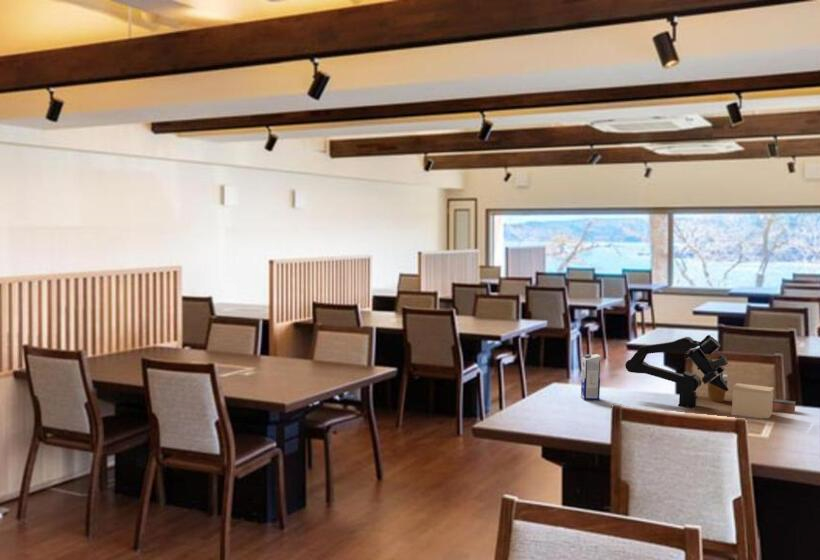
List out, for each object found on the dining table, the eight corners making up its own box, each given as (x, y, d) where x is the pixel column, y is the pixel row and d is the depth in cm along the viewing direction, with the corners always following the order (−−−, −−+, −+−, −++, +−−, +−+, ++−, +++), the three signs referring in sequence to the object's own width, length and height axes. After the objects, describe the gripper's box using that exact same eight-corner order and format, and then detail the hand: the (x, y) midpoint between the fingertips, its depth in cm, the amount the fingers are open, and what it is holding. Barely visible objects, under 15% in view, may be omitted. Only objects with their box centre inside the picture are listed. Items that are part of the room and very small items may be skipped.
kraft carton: (731, 413, 322) (732, 386, 322) (735, 409, 330) (736, 383, 330) (768, 418, 314) (770, 391, 314) (772, 414, 322) (774, 387, 322)
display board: (730, 415, 321) (730, 414, 321) (736, 409, 332) (736, 408, 332) (795, 424, 308) (795, 423, 308) (799, 418, 319) (799, 416, 319)
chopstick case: (741, 407, 336) (742, 397, 336) (743, 405, 341) (744, 395, 340) (793, 414, 325) (794, 403, 325) (795, 412, 329) (795, 401, 329)
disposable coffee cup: (729, 400, 350) (730, 374, 349) (725, 404, 342) (726, 377, 341) (707, 398, 355) (708, 372, 354) (702, 401, 347) (704, 375, 346)
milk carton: (599, 400, 343) (601, 355, 342) (584, 400, 343) (585, 355, 342) (595, 397, 350) (597, 353, 349) (580, 396, 350) (582, 353, 349)
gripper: (711, 352, 321) (738, 382, 316) (721, 347, 337) (747, 375, 332) (690, 368, 326) (717, 398, 321) (701, 363, 342) (726, 391, 336)
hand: (727, 390), depth 327 cm, fingers closed
